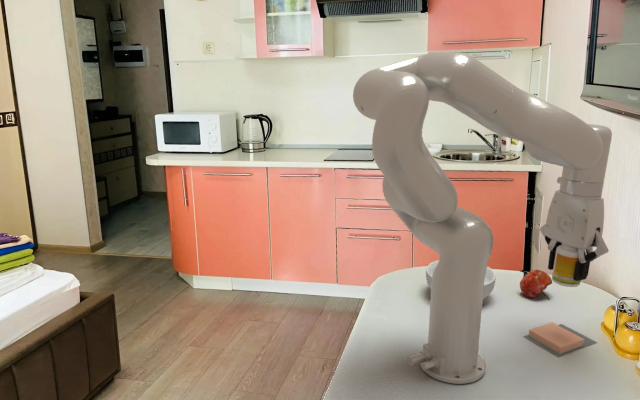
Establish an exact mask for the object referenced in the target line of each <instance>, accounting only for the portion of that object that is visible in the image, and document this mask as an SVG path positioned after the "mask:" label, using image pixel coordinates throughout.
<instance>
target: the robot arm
mask: <svg viewBox="0 0 640 400" xmlns="http://www.w3.org/2000/svg"><path fill="white" fill-rule="evenodd" d="M352 98H353V104H354V106H355V108H356V110H357V111H358V112H359V113H360V114H362V116H364V117H365V118H369V119H371V120H374V121H375V123H374V126H373V133H372V139H371V140H372V143H371V151H372V156H373V160H374V162H375V164H376V166H377V168H378V169H379V171H380V172H381V173H382V175H383V179H382V185H381V188H382V193H383V196H384V198H385V201H386V202H387V204H388V205H389V207H390V208H391V209H392V210H393V212H394V213H395V214H396V215H397V217H398V218H399V220H401V222H402V224H403V225H405V226H406V228H407V229H408V230H409V231H410V232H411V233H412V235H413V236H414V237H415V238H416V239H417V240H418V241H419V242H420V243H422V244H423V245H425V246H427V247H428V248H429V249H431V250H433V251H434V252H435V253H437V254H438V256H439V259H438V260H439V262H438V265H437V267H436V268H435V270H434V273H433V276H432V282H431V289H430V300H429V301H430V302H429V318H428V320H429V322H428V336H427V337H428V338H427V340H428V341H427V343H424V344H423V348H422V349H423V350H421V351H420V352H419V353H418V354H416V353H415V354H413V355H409V356H407V358H406V363H407V364H408V366H409V367H416V366H418V365H419V366H420V368H421V370H422V371H423V372H424V373H425V374H427V375H428V376H429V377H431V378H433V379H435V380H438V381H440V382H444V383H446V384H447V383H448V384H454V385H455V384H456V385H457V384H458V385H461V384H462V385H463V384H471V383H474V382H476V381H478V380H480V379H481V378H483V376H484V375H485V372H486V362H485V360H484V359H483V357H482V355H480V354H479V346H480V345H479V344H480V336H481V335H480V332H481V323H482V322H481V321H482V311H483V300H484V299H483V289H484V279H485V273H486V268H487V266H488V264H489V261H490V257H491V254H492V251H493V249H494V234H493V230H492V228H491V227H490V225H489V223H487V222H486V220H484V219H483V218H482V217H480V216H479V215H478V214H476V213H473V212H471V211H469V210H468V209H465V208H462V207H460V206H458V202H459V201H458V198H459V197H458V192H457V191H456V190H457V189H456V187H455V186H454V184H453V182H452V181H451V179H450V178H449V177H448V176H447V174H446V173H445V172H444V170H443V168H442V167H441V166H440V165H439V163H438V162H437V160H436V159H435V158H434V156H433V155H432V154H431V152H430V151H429V149H428V147H427V146H426V144H425V142H424V138H423V129H424V128H423V127H424V124H425V123H424V122H425V120H426V116H427V114H428V113H427V112H428V110H429V109H428V108H429V105H430V104H429V103H430V101H433V102H439V103H444V104H446V105H448V106H450V107H452V108H453V109H455V110H456V111H458V112H460V113H462V114H463V115H465V116H467V117H468V118H470V119H471V120H473V121H475V123H477V124H478V125H481V126H482V127H484V128H485V129H487V130H488V131H491V132H493V133H496V134H497V135H500V136H503V137H504V138H508V139H512V140H515V141H520V142H523V143H524V149H525V150H526V152H527V153H528V155H529V156H530V157H532V158H533V159H535V160H537V161H540V162H542V163H547V164H550V165H556V166H558V167H559V166H560V167H562V170H561V171H562V172H561V176H558V177H557V179H556V183H557V184H559V189H558V190H555V191H554V194H553V197H552V199H551V201H550V205H549V209H548V213H547V215H546V216H547V217H546V220H545V224H543V225H542V226H541V227H540V228H539V231H540V232H541V234H542V236H543V237H544V241H545V243H546V244H547V249H548V251H549V256H548V265H547V269H548V270H550V271H551V270H552V271H553V267H554V260H555V254H556V249H557V247H558V246H559V245H562V243H563V244H566V245H569V246H572V247H574V248H577V249H578V253H579V261H578V262H576V266H575V272H574V277H573V279H574V280H575V281H580V280H581V281H583V280H586V279H587V277H588V275H589V271H590V265H591V262H594V260H596V259H597V258H599V257H601V256H604V255H606V254H608V253H609V248H608V246H607V244H606V243H605V240H604V239H603V232H604V223H605V222H604V220H605V202H604V199H605V198H602V195H603V194H602V193H603V189H604V184H605V178H606V172H607V165H608V161H609V155H610V149H611V143H612V136H613V132H612V130H611V128H610V127H608V126H606V125H600V124H591V123H590V124H589V123H587V122H585V121H583V120H582V119H581V118H579V117H578V116H576V115H575V114H573V113H571V112H569V111H567V110H565V109H563V108H561V107H559V106H556V105H554V104H553V103H550V102H548V101H546V100H544V99H541V98H540V97H538V96H536V95H534V94H532V93H529V92H527V91H524V90H523V89H521V88H520V87H517V86H516V85H514V84H513V83H512V82H511V81H509V80H507V79H506V78H504V77H503V76H501V75H500V74H499V73H498V72H495V70H493V69H491V68H490V67H488V66H487V65H486V64H484V63H482V62H481V61H479V60H478V59H477V58H475V57H473V56H472V55H469V54H467V53H464V52H459V51H458V52H457V51H455V52H453V51H451V52H447V51H446V52H445V51H444V52H443V51H442V52H441V51H440V52H438V51H437V52H436V51H435V52H430V53H425V54H422V55H419V56H416V57H412V58H409V59H405V60H402V61H399V62H395V63H391V64H388V65H384V66H381V67H377V68H375V69H371V70H369V71H366V73H364V74H363V75H361V77H359V78H358V80H357V81H356V83H355V85H354V87H353V93H352ZM593 248H596V249H595V250H594V249H593Z"/></svg>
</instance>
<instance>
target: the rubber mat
mask: <svg viewBox="0 0 640 400" xmlns="http://www.w3.org/2000/svg"><path fill="white" fill-rule="evenodd" d="M557 325H558V326H560V327H562V328H564V329H566V330H568V331H570V332H572V333H574V334H575V335H577V336H579V337H581V338H583V339H584V345H583V346H581V347H578V348H575V349H573V350H570V351H567V352H565V353H562V354H559V353H557V352H555V351H554V350H552V349H550V348H548V347H547V346H545V345H543V344H541V343H540V342H538V341H536V340H534V339H533V338H531V337H529V334H527V335H524V336H522V338H524V339H526V340H527V341H529V342H531V343H532V344H534V345H536V346H538V347H540V348H541V349H543V350H545V351H546V352H548V353H549V354H552V355H553V356H555V357H557V358H560V357H563V356H566V355H570V354H572V353H574V352H577V351H579V350H582V349H584V348H587V347H590V346H592V345H595V344H598V342H597V341H595V340H594V339H592V338H589V337H588V336H586V335H584V334H582V333H580V332H578V331H576V330H574V329H572V328H570V327H568V326H566V325H565V324H563V323H560V324H557Z"/></svg>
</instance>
